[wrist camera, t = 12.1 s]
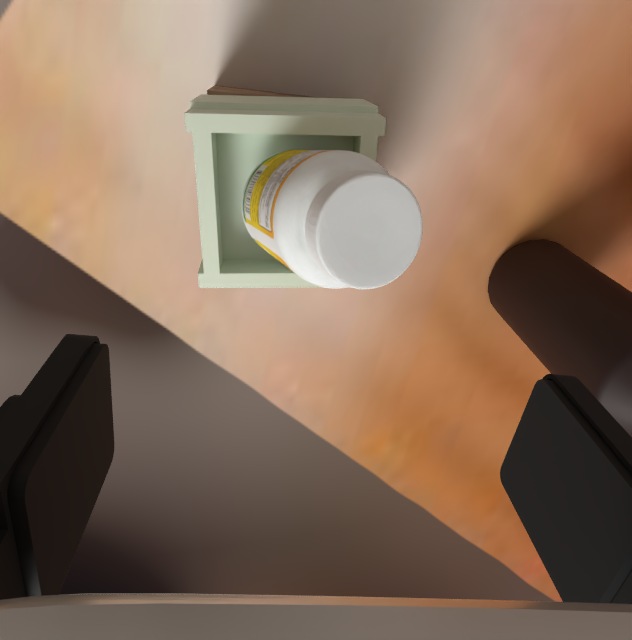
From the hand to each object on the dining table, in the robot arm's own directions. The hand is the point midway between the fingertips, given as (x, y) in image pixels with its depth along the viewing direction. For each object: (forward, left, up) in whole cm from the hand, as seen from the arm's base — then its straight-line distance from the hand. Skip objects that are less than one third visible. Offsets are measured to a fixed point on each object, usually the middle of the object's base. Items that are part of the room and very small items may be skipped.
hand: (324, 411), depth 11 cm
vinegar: (-20, +6, -26) cm, 34 cm away
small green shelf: (0, 0, -22) cm, 22 cm away
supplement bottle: (0, 0, -17) cm, 17 cm away
